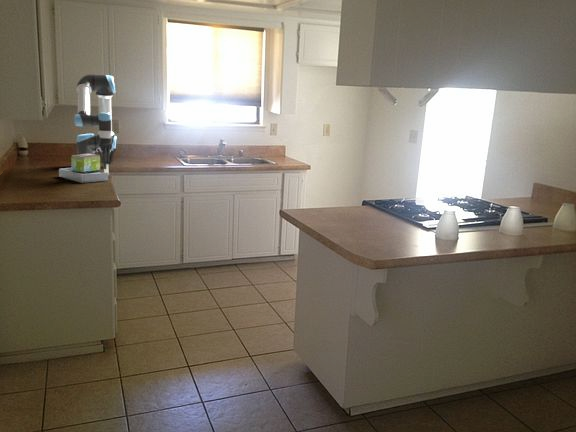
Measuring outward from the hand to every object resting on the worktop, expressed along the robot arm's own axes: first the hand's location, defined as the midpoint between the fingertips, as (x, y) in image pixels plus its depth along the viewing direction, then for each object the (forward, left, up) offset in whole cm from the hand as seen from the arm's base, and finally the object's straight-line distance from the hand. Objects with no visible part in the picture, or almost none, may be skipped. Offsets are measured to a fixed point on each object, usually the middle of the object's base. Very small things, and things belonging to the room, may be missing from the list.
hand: (106, 174), depth 339 cm
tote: (+16, 0, -2) cm, 16 cm away
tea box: (+14, 0, -2) cm, 14 cm away
